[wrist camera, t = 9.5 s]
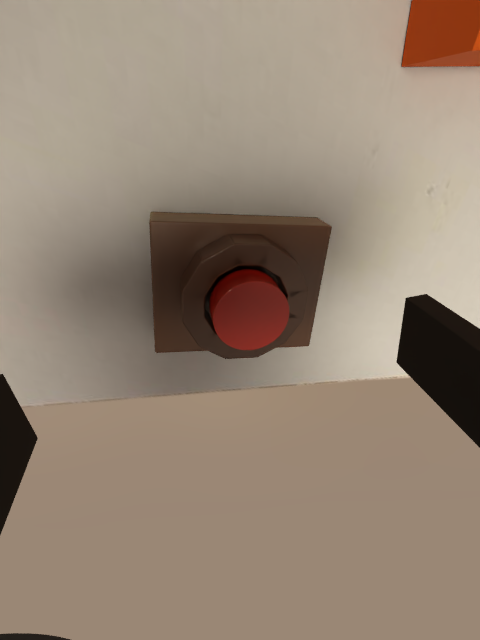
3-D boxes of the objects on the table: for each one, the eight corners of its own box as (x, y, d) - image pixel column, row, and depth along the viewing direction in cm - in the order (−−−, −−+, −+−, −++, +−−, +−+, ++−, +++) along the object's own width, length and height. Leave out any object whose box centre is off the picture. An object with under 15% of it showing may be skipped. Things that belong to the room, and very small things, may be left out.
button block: (298, 330, 26) (319, 362, 22) (155, 334, 24) (154, 371, 20) (317, 217, 22) (346, 234, 19) (150, 211, 20) (148, 230, 17)
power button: (275, 332, 21) (284, 349, 20) (207, 335, 20) (211, 352, 19) (284, 268, 19) (294, 280, 18) (210, 268, 19) (214, 281, 17)
